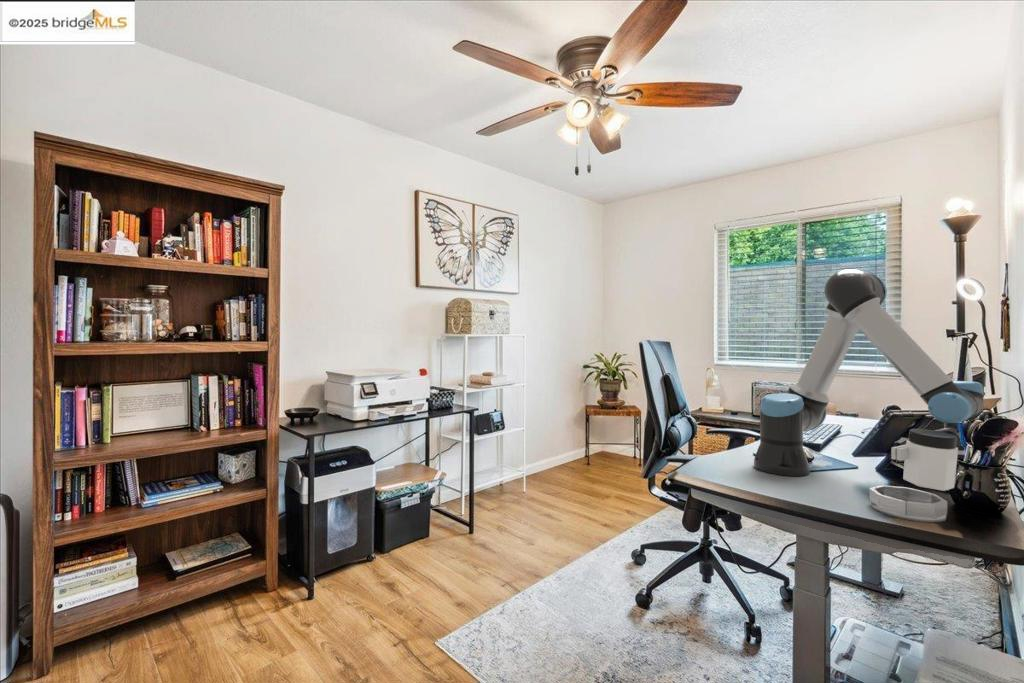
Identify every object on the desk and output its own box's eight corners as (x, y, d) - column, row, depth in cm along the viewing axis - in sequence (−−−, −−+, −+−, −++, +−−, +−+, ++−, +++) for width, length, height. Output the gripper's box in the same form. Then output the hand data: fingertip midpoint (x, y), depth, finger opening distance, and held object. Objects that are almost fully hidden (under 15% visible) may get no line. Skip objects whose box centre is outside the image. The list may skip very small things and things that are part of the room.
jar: (916, 475, 113) (920, 427, 112) (959, 487, 106) (964, 435, 105) (896, 480, 109) (901, 430, 108) (940, 493, 102) (945, 439, 101)
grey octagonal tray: (858, 506, 114) (858, 490, 114) (888, 498, 120) (888, 482, 120) (928, 526, 102) (928, 508, 102) (958, 516, 108) (958, 499, 108)
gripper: (981, 465, 112) (932, 477, 102) (913, 453, 124) (863, 463, 114) (980, 434, 112) (932, 443, 102) (913, 425, 124) (863, 432, 114)
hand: (896, 454), depth 108 cm, fingers closed on jar
